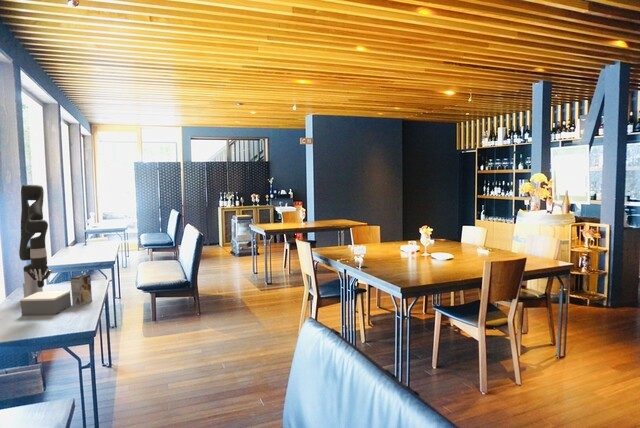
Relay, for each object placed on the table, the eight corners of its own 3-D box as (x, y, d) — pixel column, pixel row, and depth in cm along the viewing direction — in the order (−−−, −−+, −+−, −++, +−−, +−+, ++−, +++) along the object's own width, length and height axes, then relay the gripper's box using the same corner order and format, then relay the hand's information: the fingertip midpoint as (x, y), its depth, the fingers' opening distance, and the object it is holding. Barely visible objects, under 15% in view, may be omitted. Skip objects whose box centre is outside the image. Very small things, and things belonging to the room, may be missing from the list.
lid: (20, 301, 239) (20, 299, 239) (38, 293, 255) (38, 291, 255) (54, 300, 239) (54, 298, 239) (70, 292, 255) (70, 290, 255)
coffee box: (83, 300, 268) (81, 274, 267) (92, 300, 267) (90, 274, 265) (72, 304, 259) (70, 277, 258) (81, 305, 258) (79, 278, 256)
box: (21, 315, 239) (20, 301, 239) (39, 307, 255) (38, 293, 255) (55, 314, 240) (54, 300, 239) (71, 306, 256) (70, 292, 255)
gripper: (54, 254, 245) (56, 285, 246) (30, 255, 244) (33, 285, 246) (46, 257, 237) (49, 288, 239) (22, 257, 237) (24, 289, 238)
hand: (40, 287), depth 242 cm, fingers closed
